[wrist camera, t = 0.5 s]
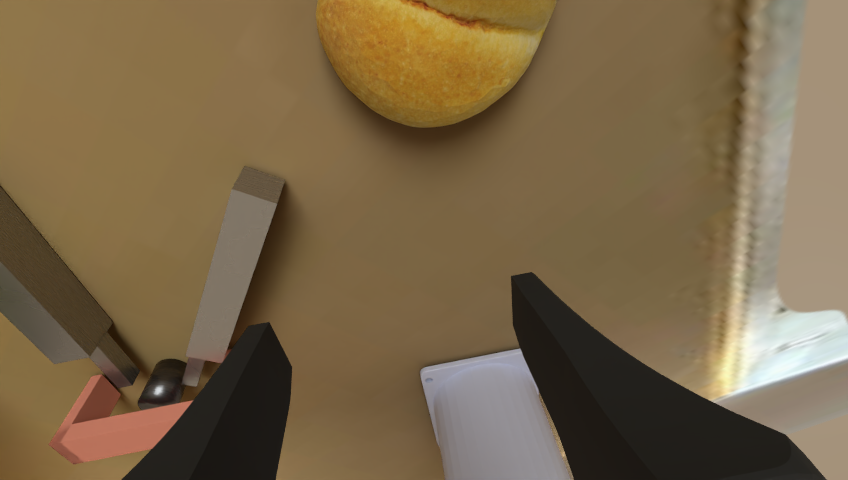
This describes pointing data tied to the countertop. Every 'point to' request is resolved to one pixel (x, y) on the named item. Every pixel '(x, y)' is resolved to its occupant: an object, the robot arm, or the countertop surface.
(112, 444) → the pink bridge block
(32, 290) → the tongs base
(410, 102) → the bread roll
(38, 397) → the countertop surface
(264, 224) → the bar
